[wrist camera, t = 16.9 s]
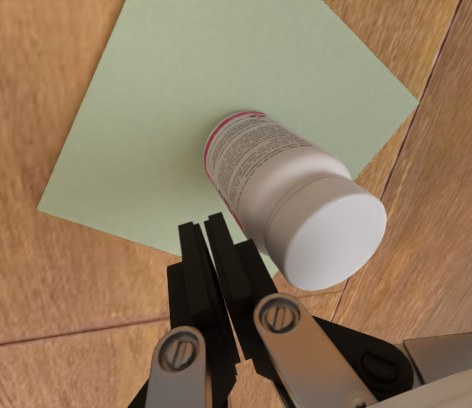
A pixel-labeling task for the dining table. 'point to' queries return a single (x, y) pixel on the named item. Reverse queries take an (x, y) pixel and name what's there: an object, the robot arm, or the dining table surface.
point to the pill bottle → (293, 200)
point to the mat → (212, 109)
